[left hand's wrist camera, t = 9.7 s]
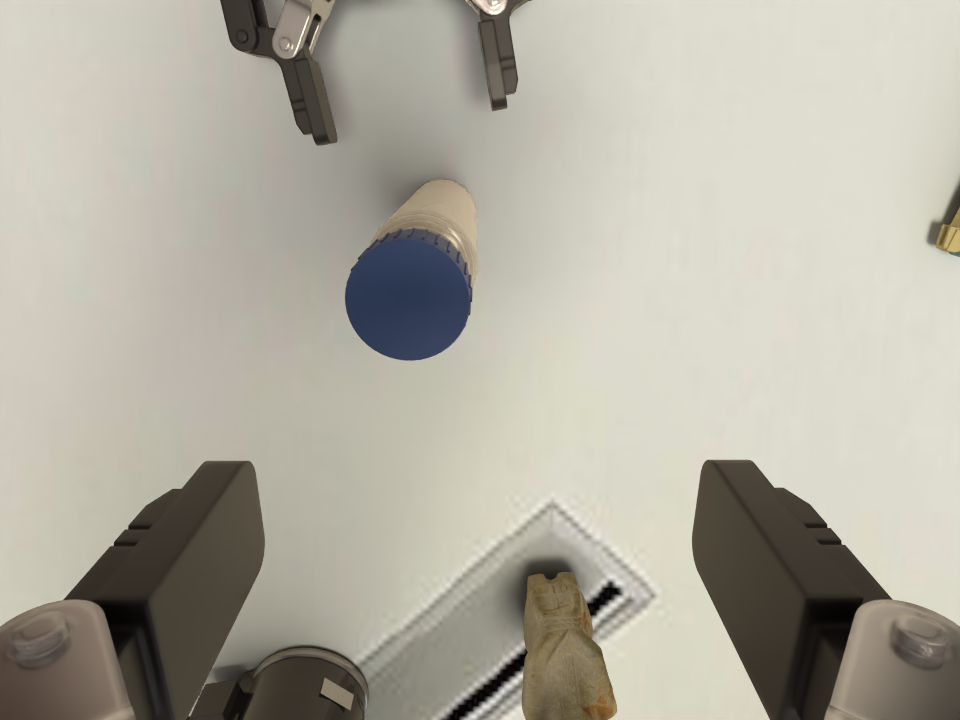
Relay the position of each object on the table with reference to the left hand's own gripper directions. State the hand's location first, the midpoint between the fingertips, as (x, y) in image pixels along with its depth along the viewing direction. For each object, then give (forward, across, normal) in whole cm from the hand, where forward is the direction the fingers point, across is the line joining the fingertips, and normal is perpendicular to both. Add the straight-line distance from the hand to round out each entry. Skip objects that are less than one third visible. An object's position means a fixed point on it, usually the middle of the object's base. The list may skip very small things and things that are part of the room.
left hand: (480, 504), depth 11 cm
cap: (+9, -2, +2) cm, 9 cm away
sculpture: (+29, +6, -27) cm, 40 cm away
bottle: (+29, -2, +1) cm, 29 cm away
